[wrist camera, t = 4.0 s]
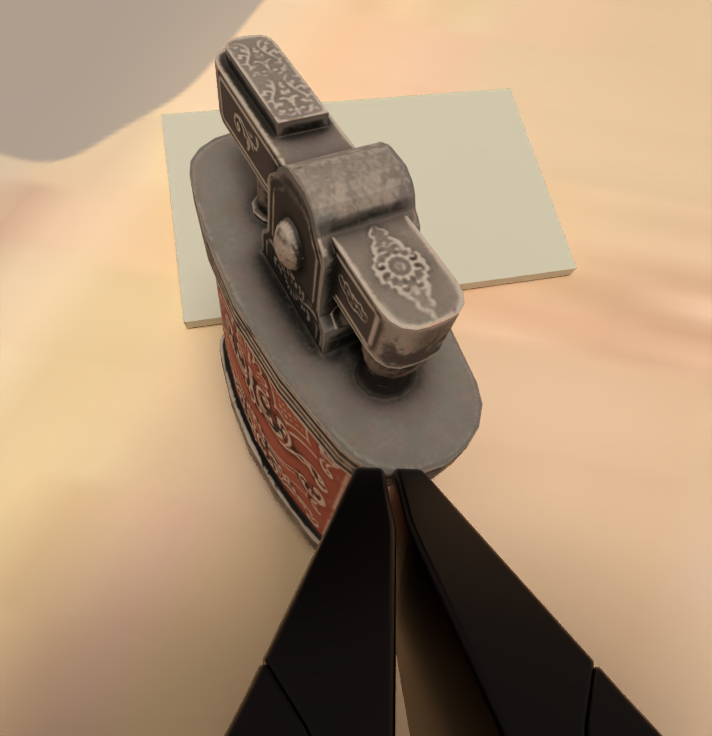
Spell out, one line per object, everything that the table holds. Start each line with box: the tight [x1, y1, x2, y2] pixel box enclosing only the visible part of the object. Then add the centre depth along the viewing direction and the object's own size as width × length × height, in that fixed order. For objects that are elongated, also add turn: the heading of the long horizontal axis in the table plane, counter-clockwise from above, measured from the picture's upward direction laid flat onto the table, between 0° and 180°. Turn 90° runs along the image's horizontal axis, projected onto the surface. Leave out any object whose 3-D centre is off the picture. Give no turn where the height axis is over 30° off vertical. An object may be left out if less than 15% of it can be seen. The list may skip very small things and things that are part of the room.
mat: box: [162, 88, 576, 328], centre depth 19 cm, size 14×8×1 cm, turn 101°
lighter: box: [189, 35, 482, 549], centre depth 11 cm, size 8×3×10 cm, turn 28°
